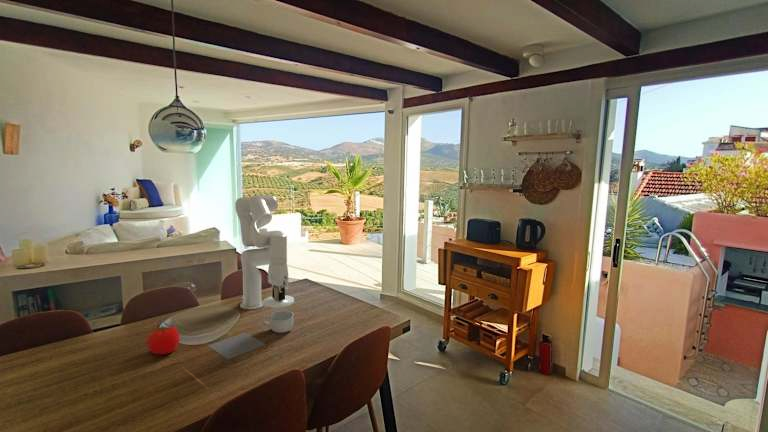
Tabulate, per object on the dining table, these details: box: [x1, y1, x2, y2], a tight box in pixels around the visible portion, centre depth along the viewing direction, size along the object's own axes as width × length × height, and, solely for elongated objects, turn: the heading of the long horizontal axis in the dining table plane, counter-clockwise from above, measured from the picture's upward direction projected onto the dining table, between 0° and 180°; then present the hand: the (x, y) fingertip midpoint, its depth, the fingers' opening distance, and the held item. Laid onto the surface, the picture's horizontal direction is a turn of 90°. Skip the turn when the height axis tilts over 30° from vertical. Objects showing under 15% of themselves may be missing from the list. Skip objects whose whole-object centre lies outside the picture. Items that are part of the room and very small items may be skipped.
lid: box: [262, 286, 295, 309], centre depth 170 cm, size 14×14×8 cm
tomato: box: [146, 325, 180, 355], centre depth 149 cm, size 12×12×10 cm
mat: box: [207, 332, 266, 360], centre depth 156 cm, size 17×17×1 cm
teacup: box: [262, 309, 295, 334], centre depth 172 cm, size 14×11×8 cm
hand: (278, 298), depth 170 cm, fingers closed on lid, 4 cm apart
